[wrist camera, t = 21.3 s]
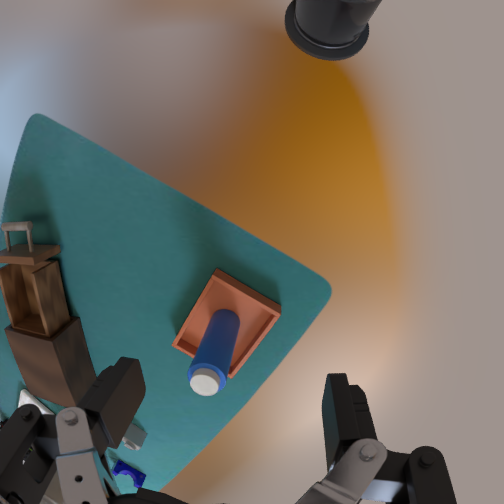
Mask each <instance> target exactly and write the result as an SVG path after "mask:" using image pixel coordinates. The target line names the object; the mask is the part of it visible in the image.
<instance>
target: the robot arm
mask: <svg viewBox="0 0 504 504" xmlns="http://www.w3.org/2000/svg"><path fill="white" fill-rule="evenodd" d="M381 1H382V0H296V9H295V13H294V23H295V27H296V29H297V31H298V32H299V34H300V35H301V36H302V37H303V38H304V39H305V40H306V41H308V42H309V43H311V44H312V45H314V46H317V47H319V48H323V49H328V50H339V49H344V48H346V47H349V46H351V45H352V44H353V43H354V42H356V40H357V39H358V37H359V36H360V34H361V33H362V30H363V29H365V28H364V27H365V26H366V24H367V22H368V21H369V19H370V18H371V16H372V15H373V13H374V11H375V10H376V8H377V7H378V5H379V4H380V2H381ZM145 391H146V387H145V382H144V378H143V374H142V370H141V366H140V362H139V360H138V359H134V358H128V357H121V358H120V359H119V360H118V361H117V363H116V364H115V365H114V366H109V367H108V368H106V369H105V370H103V371H102V372H101V373H100V374H99V376H98V377H97V378H96V380H95V381H94V382H93V384H92V386H91V387H90V388H89V389H88V391H87V392H86V393H85V395H84V396H83V397H82V399H81V400H80V401H79V403H78V404H77V406H76V407H67V408H64V409H62V410H61V411H60V412H59V413H58V414H57V415H52V414H42V413H41V411H40V409H39V407H38V406H36V405H34V404H24V405H21V406H20V407H18V408H17V409H16V410H15V412H14V413H13V414H12V416H11V417H10V418H9V419H8V421H7V422H6V423H5V425H4V426H3V427H2V429H1V430H0V504H40V502H41V500H42V498H43V496H44V494H45V492H46V490H47V488H48V486H49V484H50V482H51V480H52V479H53V477H54V475H55V473H56V471H57V470H58V476H59V481H60V486H61V491H62V496H63V500H64V504H188V503H185V502H183V501H181V500H178V499H176V498H174V497H172V496H169V495H167V494H165V493H161V492H156V491H152V490H148V489H144V488H141V487H139V488H138V491H137V493H132V494H122V495H121V493H120V491H119V489H118V487H117V484H116V482H115V479H114V476H113V473H112V470H111V467H110V464H109V461H108V458H107V455H106V453H105V450H106V449H107V447H111V448H114V449H117V448H118V446H119V444H120V442H121V440H122V438H123V437H124V435H125V433H126V431H127V429H128V427H129V425H130V423H131V421H132V419H133V417H134V415H135V414H136V412H137V410H138V408H139V406H140V404H141V402H142V400H143V398H144V396H145ZM322 418H323V428H324V438H325V448H326V460H327V471H328V474H327V475H326V476H325V478H324V479H323V480H322V481H320V482H316V483H315V484H314V485H313V486H312V487H311V488H310V489H309V490H308V491H307V492H306V493H305V494H304V495H303V496H302V497H301V498H300V499H299V500H298V501H297V502H296V503H295V504H359V503H360V502H361V500H362V499H367V500H374V501H382V502H386V504H457V502H456V498H455V494H454V491H453V487H452V484H451V480H450V477H449V473H448V470H447V466H446V463H445V460H444V457H443V455H442V453H441V452H440V451H439V450H437V449H436V448H434V447H430V446H422V447H419V448H416V449H415V450H414V451H412V453H411V454H405V453H398V452H393V451H389V450H387V449H386V447H385V446H384V445H383V444H382V443H381V442H379V441H378V439H377V436H376V433H375V428H374V424H373V421H372V417H371V413H370V412H369V406H368V404H367V399H366V395H365V393H364V391H363V390H362V389H361V388H360V387H359V386H358V385H349V383H348V380H347V375H346V374H345V373H339V374H338V373H334V374H333V373H332V374H328V375H327V378H326V384H325V389H324V395H323V400H322ZM31 446H32V448H33V450H32V451H31V453H30V454H29V456H28V458H27V459H26V461H25V463H24V464H23V458H24V456H25V455H26V453H27V451H28V450H29V448H30V447H31ZM223 504H224V503H223Z"/></svg>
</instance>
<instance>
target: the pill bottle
mask: <svg viewBox="0 0 504 504" xmlns="http://www.w3.org/2000/svg"><path fill="white" fill-rule="evenodd" d="M239 328H240V320H239V317H238V316H237V315H236V314H235V313H234V312H233V311H231V310H227V309H221V310H218V311H216V312H215V313H214V314H213V315H212V317H211V319H210V321H209V324H208V326H207V328H206V331H205V333H204V335H203V338H202V340H201V342H200V344H199V347H198V349H197V351H196V354H195V356H194V358H193V361H192V363H191V365H190V368H189V370H188V379H189V382H190V385H191V387H192V389H193V390H194V391H195V392H196V393H198V394H200V395H204V396H211V395H214V394H215V393H216V392H218V391H220V390H221V389H223V388H224V386H225V384H226V380H227V376H228V372H229V368H230V364H231V360H232V356H233V352H234V348H235V344H236V340H237V336H238V332H239Z"/></svg>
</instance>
